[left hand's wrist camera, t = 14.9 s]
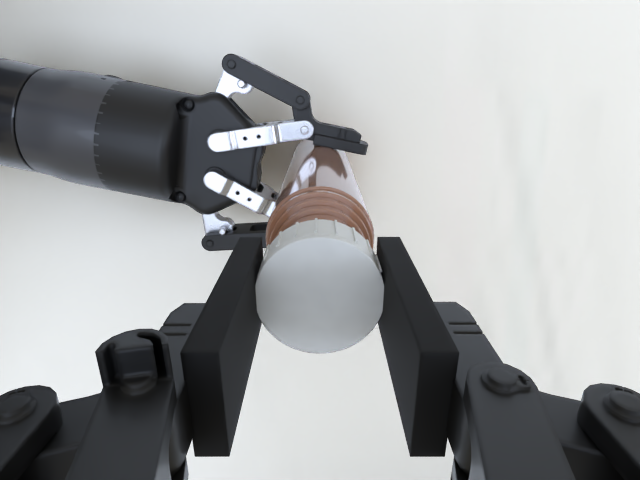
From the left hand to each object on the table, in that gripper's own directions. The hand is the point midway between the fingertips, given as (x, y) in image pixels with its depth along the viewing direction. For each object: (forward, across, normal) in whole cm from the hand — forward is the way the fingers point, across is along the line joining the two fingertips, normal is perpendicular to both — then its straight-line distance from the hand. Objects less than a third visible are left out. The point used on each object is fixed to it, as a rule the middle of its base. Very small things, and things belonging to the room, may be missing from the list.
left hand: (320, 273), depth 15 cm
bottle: (+23, 0, 0) cm, 23 cm away
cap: (-2, 0, 0) cm, 2 cm away
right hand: (+16, -3, 0) cm, 16 cm away
